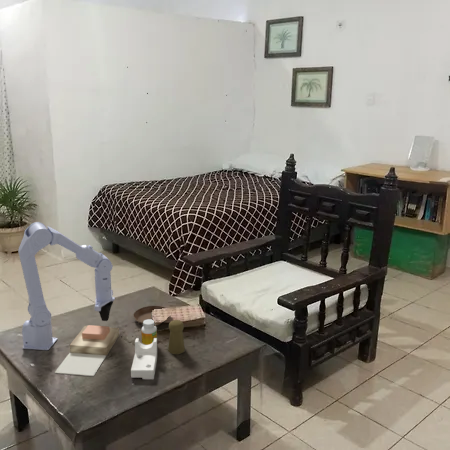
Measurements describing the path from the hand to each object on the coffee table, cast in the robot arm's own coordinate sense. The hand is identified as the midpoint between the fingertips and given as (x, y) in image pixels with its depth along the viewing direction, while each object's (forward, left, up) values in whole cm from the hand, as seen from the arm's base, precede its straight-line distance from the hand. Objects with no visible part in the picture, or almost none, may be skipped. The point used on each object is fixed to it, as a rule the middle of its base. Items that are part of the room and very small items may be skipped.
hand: (105, 320), depth 186 cm
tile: (0, -10, 0) cm, 10 cm away
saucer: (+16, +10, -4) cm, 19 cm away
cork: (+30, -11, -4) cm, 32 cm away
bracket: (+21, -23, -4) cm, 32 cm away
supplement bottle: (+20, -10, -4) cm, 22 cm away
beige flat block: (0, -11, -4) cm, 11 cm away
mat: (0, -24, -4) cm, 25 cm away
